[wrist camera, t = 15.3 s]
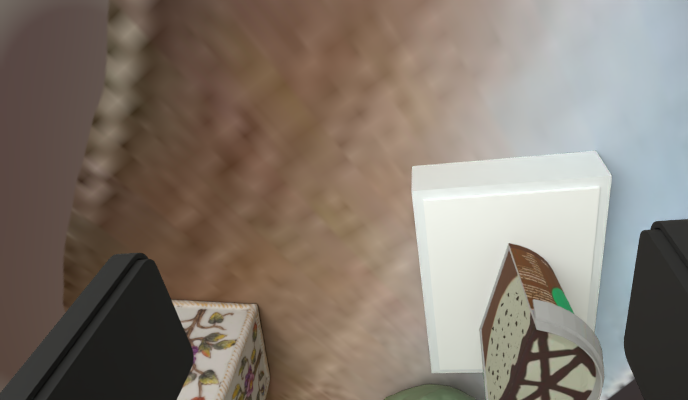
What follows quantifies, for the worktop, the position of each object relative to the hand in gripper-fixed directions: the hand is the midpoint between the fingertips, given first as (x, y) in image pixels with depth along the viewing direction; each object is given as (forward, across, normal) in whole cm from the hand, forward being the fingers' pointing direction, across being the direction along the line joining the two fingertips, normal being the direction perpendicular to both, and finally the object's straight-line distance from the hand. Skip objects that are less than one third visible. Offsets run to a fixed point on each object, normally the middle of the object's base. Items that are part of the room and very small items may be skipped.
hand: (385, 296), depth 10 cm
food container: (+26, -8, +23) cm, 36 cm away
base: (+30, -6, +23) cm, 39 cm away
